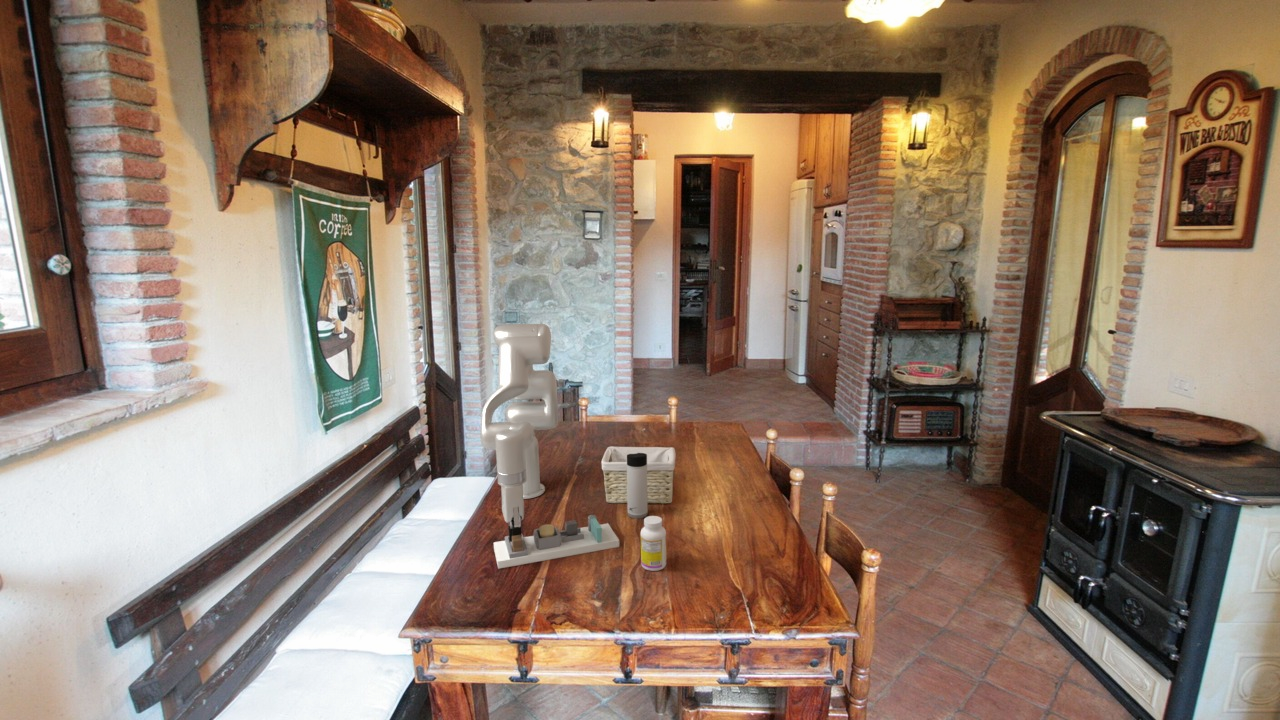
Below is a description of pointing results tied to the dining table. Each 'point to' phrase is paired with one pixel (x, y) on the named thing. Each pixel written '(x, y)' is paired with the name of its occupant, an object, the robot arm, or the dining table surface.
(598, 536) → the teal lever handle
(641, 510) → the travel mug
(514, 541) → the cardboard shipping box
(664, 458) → the storage basket
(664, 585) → the dining table surface
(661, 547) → the supplement bottle
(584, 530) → the board
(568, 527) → the grey rectangular block
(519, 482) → the robot arm
